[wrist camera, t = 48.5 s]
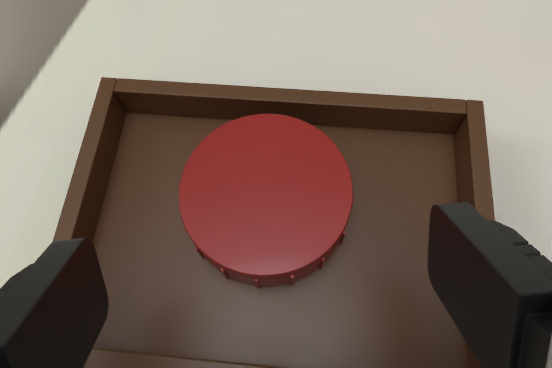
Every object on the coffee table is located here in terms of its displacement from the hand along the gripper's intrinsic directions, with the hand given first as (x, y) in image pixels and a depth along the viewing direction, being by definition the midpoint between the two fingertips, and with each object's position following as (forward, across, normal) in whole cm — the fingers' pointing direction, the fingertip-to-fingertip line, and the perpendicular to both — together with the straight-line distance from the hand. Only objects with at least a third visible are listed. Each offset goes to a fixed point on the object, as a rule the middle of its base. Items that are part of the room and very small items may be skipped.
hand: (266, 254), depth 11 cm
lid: (+4, 0, 0) cm, 4 cm away
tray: (+5, 0, -2) cm, 6 cm away
